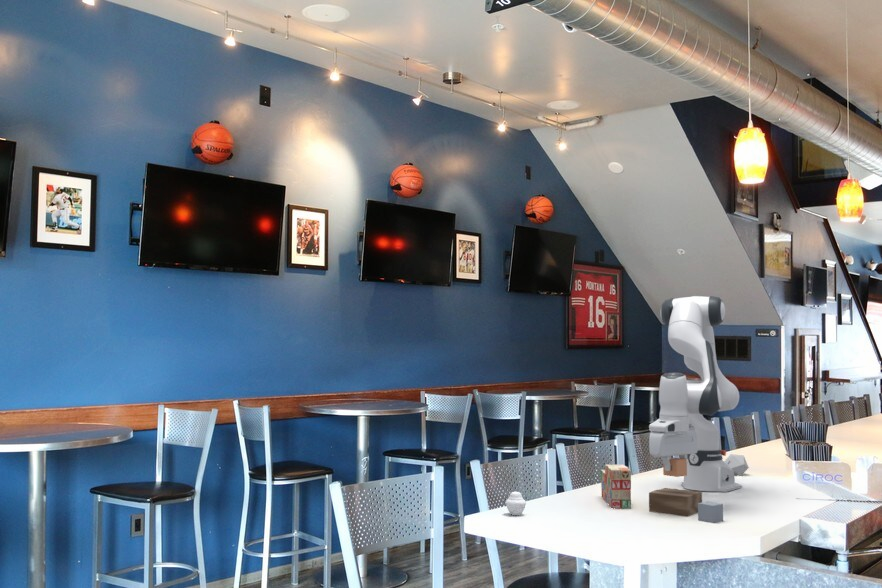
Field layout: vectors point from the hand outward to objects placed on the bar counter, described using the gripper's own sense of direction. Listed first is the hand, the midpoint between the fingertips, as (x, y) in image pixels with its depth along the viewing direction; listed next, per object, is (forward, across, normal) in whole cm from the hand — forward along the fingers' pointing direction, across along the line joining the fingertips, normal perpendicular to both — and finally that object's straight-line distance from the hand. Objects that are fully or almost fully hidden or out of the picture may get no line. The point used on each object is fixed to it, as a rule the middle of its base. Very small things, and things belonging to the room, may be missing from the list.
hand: (674, 469), depth 247 cm
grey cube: (+13, +4, +15) cm, 20 cm away
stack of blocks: (+13, +4, -21) cm, 25 cm away
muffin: (+13, +44, -25) cm, 52 cm away
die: (+12, -85, -33) cm, 92 cm away
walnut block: (+13, 0, 0) cm, 13 cm away
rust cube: (+2, 0, 0) cm, 2 cm away
